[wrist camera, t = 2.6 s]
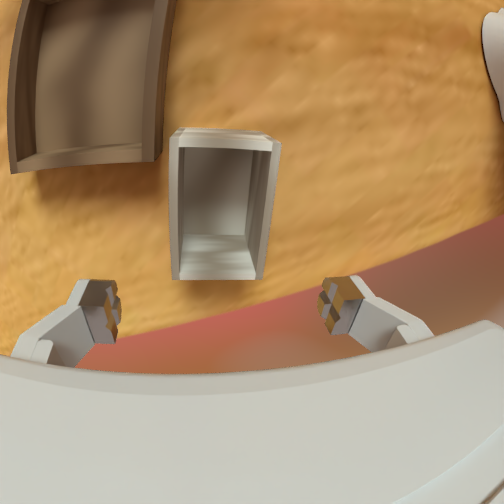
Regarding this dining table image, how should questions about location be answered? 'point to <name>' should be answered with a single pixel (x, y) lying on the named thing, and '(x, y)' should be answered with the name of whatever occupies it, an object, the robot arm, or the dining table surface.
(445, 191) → the dining table surface
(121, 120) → the big crate
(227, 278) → the small crate
